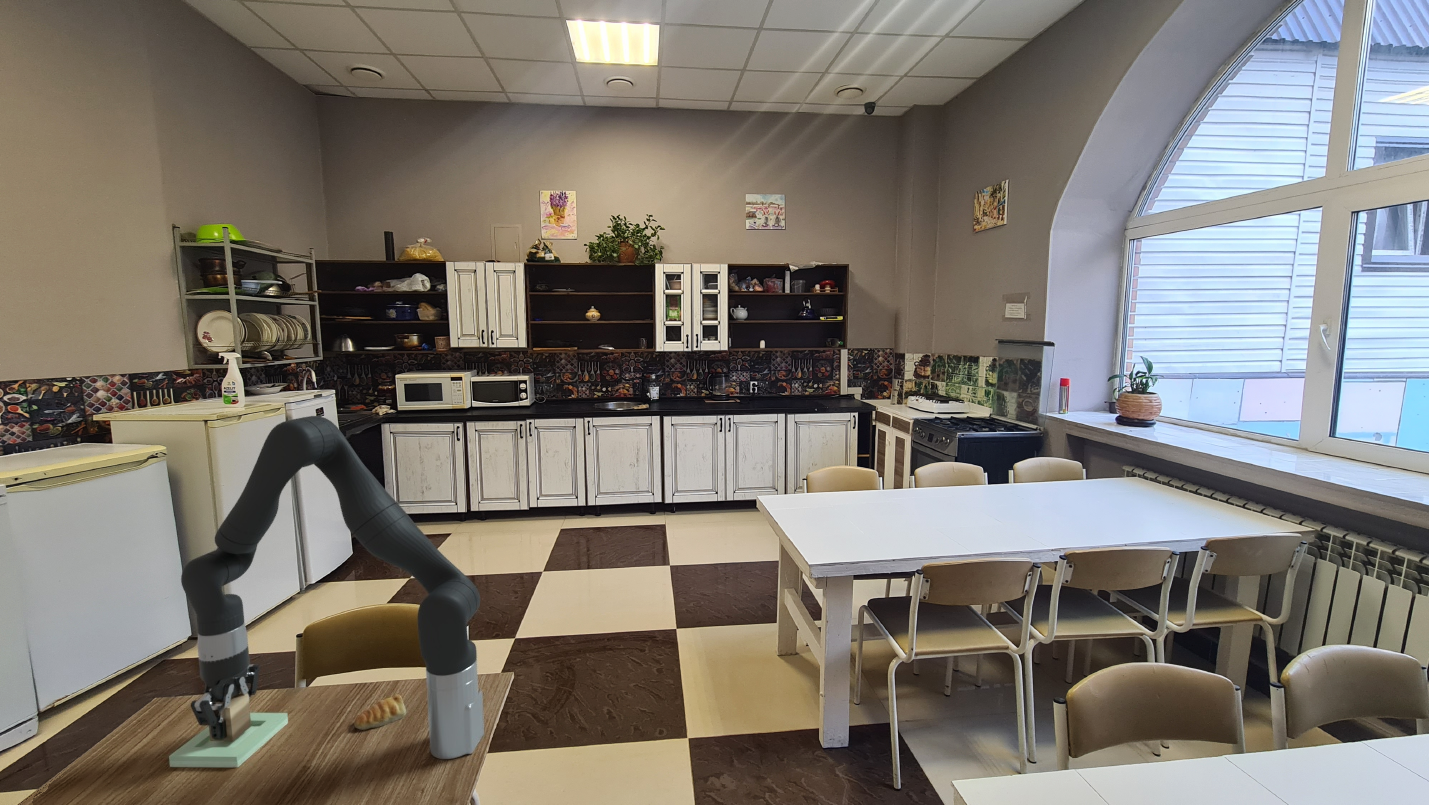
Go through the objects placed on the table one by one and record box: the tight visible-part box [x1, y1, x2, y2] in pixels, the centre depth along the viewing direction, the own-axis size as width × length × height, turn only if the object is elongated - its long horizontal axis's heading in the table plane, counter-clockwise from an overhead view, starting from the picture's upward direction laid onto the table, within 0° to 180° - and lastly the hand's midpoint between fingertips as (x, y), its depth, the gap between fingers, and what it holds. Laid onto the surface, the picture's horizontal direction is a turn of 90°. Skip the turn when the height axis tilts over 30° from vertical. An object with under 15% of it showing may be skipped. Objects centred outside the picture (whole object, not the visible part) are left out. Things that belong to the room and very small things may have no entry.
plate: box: [168, 712, 289, 768], centre depth 117 cm, size 13×13×2 cm
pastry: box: [353, 693, 407, 731], centre depth 125 cm, size 9×7×4 cm
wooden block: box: [209, 694, 251, 741], centre depth 116 cm, size 4×4×7 cm
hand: (231, 729), depth 117 cm, fingers closed on wooden block, 4 cm apart
